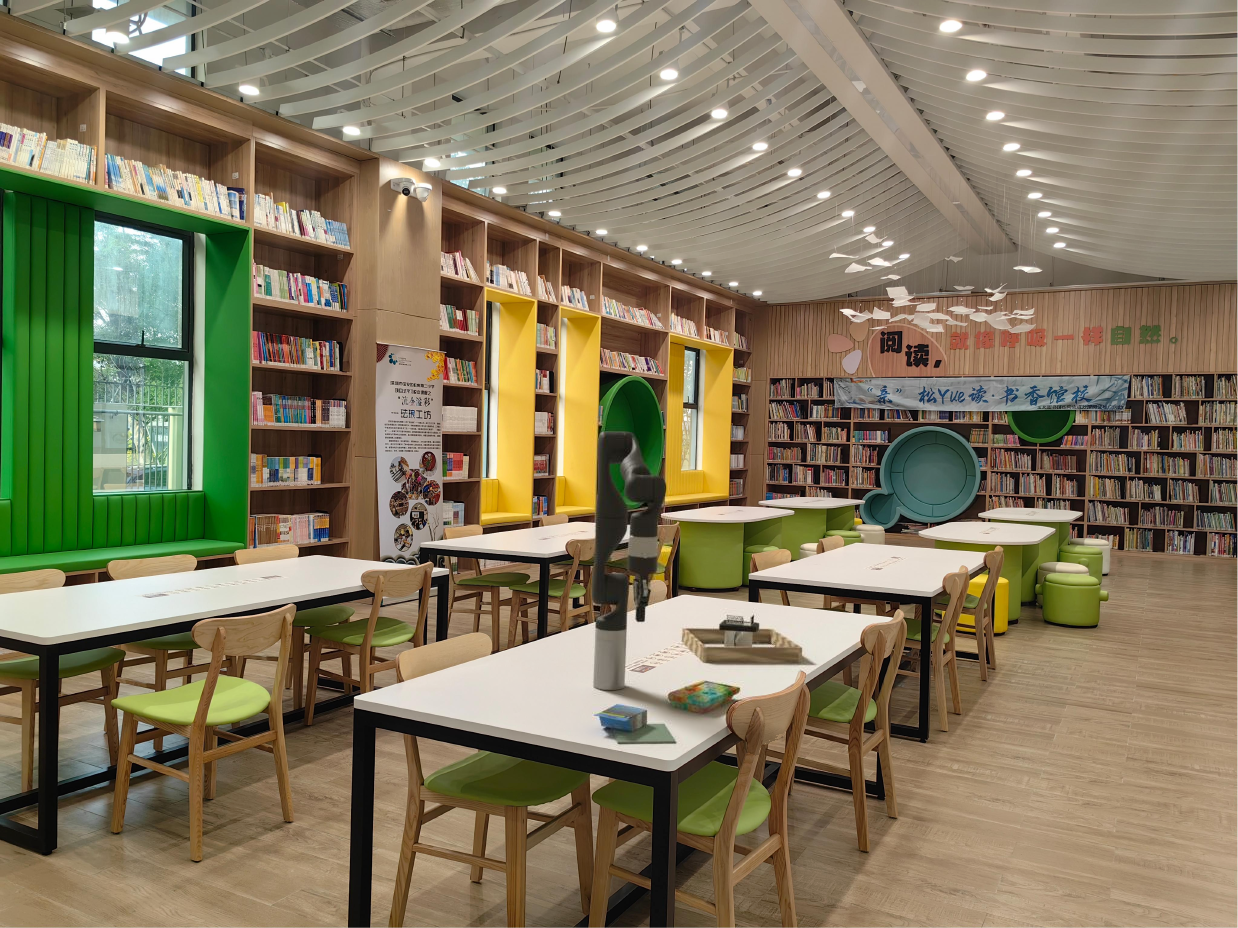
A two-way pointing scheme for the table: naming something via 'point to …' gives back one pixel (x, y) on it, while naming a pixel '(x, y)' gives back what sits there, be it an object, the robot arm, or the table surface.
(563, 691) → the table surface
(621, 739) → the mat
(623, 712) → the label tape cartridge
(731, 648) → the holder frame
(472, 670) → the table surface
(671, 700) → the puzzle game
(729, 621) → the black-topped pedestal
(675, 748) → the table surface
